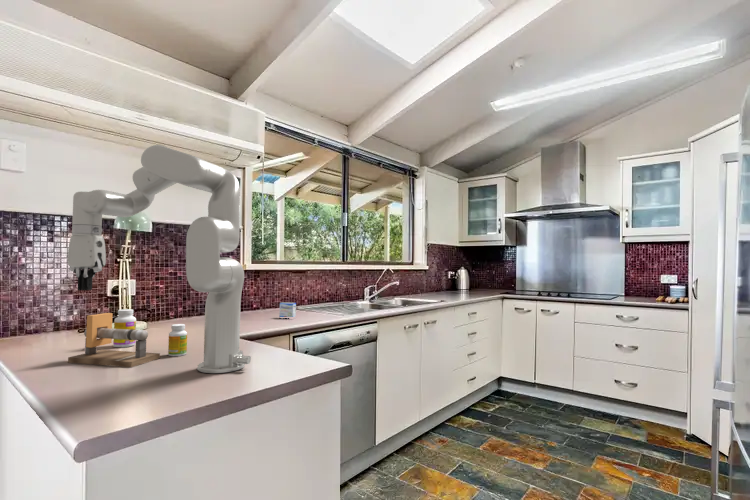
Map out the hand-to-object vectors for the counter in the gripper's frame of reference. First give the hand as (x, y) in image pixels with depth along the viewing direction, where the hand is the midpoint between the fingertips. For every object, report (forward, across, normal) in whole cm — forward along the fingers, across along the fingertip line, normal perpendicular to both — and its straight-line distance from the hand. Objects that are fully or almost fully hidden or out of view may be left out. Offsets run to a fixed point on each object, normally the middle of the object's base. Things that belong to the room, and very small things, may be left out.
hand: (84, 289), depth 123 cm
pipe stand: (+21, -12, 0) cm, 24 cm away
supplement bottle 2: (+21, -25, -11) cm, 35 cm away
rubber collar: (+17, -6, 0) cm, 18 cm away
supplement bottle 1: (+21, +2, -18) cm, 28 cm away
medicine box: (+21, -24, -99) cm, 104 cm away
